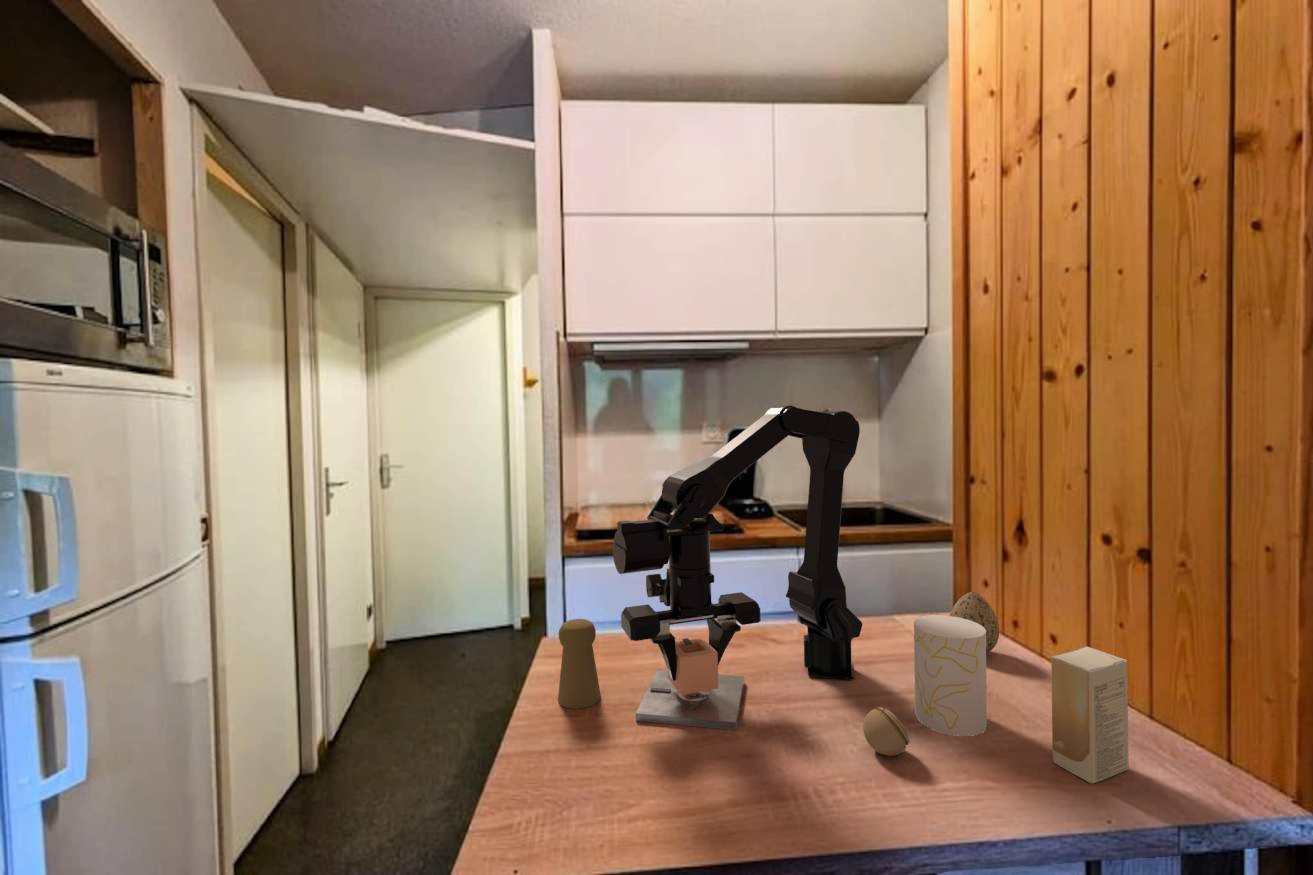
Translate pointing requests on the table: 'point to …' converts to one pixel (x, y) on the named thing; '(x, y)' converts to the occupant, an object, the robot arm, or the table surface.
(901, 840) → the table surface
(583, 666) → the cork
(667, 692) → the grey square base plate
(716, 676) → the hollow block with latch
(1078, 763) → the skincare box
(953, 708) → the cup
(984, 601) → the decorative egg
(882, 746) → the beige rounded piece
